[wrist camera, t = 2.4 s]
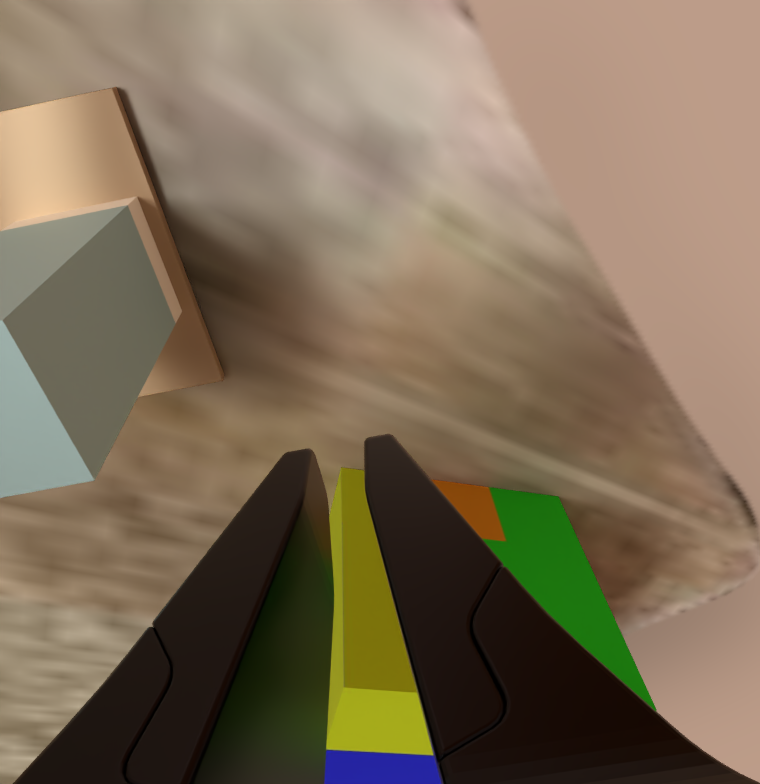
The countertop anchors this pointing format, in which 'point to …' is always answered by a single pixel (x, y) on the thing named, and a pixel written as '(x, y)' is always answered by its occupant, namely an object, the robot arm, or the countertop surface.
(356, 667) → the puzzle toy
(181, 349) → the mat
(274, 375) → the countertop surface
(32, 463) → the pillar
